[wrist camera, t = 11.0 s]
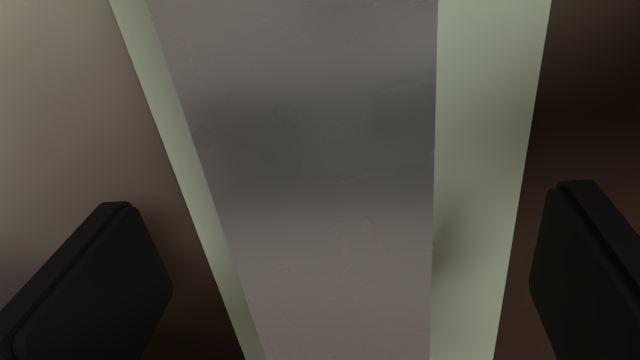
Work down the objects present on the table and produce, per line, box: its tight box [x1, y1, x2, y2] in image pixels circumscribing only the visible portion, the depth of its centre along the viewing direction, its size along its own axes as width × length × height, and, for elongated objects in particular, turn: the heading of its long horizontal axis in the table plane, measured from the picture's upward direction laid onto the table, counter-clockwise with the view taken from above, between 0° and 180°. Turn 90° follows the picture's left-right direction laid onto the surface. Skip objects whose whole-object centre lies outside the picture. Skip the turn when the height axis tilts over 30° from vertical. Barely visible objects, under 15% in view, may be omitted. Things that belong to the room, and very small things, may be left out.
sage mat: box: [109, 0, 551, 360], centre depth 12 cm, size 10×24×1 cm, turn 8°
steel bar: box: [146, 0, 438, 360], centre depth 10 cm, size 4×22×4 cm, turn 8°
